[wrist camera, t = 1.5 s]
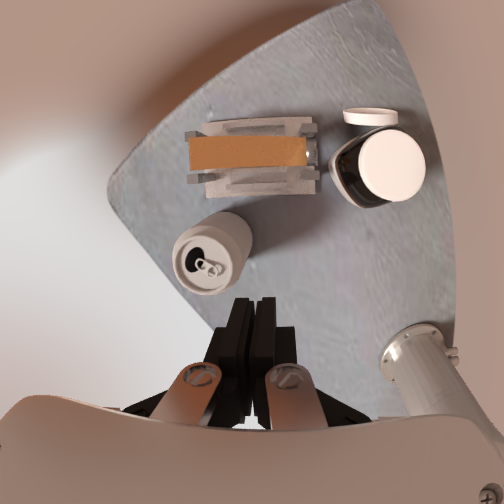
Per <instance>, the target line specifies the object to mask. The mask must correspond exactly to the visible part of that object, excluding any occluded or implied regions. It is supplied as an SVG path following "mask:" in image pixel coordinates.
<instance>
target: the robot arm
mask: <svg viewBox="0 0 504 504" xmlns="http://www.w3.org/2000/svg"><path fill="white" fill-rule="evenodd" d="M457 353H458V349H457V347H453V348H449V349H447V348H446V347H445V345H444V338H443V335H442V333H441V332H440V331H439V329H438V328H436V327H435V326H434V325H431V324H424V323H423V324H416V325H413V326H410V327H408V328H406V329H404V330H403V331H401V332H399V333H398V334H397V335H396V336H395V337H393V338H392V340H391V341H390V342H389V343H388V344H387V346H386V347H385V348H384V350H383V353H382V355H381V358H380V370H381V372H382V375H383V376H384V378H385V379H386V380H388V381H389V382H391V383H396V385H397V387H398V390H399V392H400V394H401V397H402V399H403V402H404V404H405V407H406V409H407V412H408V415H409V416H408V417H378V419H377V420H370V418H369V417H367V416H366V415H365V414H363V413H361V412H359V411H357V410H355V409H353V408H351V407H349V406H347V405H346V404H344V403H342V402H340V401H338V400H336V399H334V398H333V397H331V396H329V395H327V394H325V393H324V392H322V391H320V390H318V389H316V388H315V386H314V383H313V380H312V377H311V375H310V373H309V371H308V370H307V369H306V368H305V367H303V366H301V365H298V364H297V355H296V341H295V328H294V326H293V327H277V326H276V298H275V297H263V298H262V301H257V307H256V313H255V309H254V301H249V298H235V301H234V304H233V307H232V310H231V313H230V317H229V320H228V323H227V326H226V327H217V328H216V329H215V331H214V334H213V336H212V339H211V342H210V344H209V347H208V350H207V352H206V355H205V358H204V361H203V362H198V363H193V364H191V365H188V366H187V367H185V368H184V369H183V370H182V371H181V372H180V373H179V375H178V376H177V378H176V379H175V381H174V382H173V384H172V385H171V387H170V388H169V389H168V390H166V391H164V392H162V393H159V394H157V395H155V396H153V397H150V398H148V399H145V400H143V401H140V402H138V403H136V404H133V405H131V406H129V407H127V408H125V409H124V410H123V411H121V410H120V408H110V407H100V406H96V405H92V404H88V403H85V402H81V401H77V400H74V399H69V398H65V397H60V396H52V395H33V396H28V397H25V398H23V399H22V400H20V401H19V402H18V403H16V404H15V405H14V406H13V407H12V408H11V409H10V410H9V411H8V412H7V413H6V414H5V416H4V417H3V418H2V419H1V420H0V504H504V436H503V435H502V434H501V433H500V432H499V431H498V430H497V428H496V427H495V426H494V425H493V423H492V422H491V421H490V420H489V418H488V417H487V415H486V414H485V412H484V411H483V409H482V408H481V407H480V405H479V403H478V402H477V400H476V399H475V397H474V396H473V394H472V393H471V391H470V390H469V388H468V387H467V385H466V383H465V382H464V380H463V379H462V377H461V376H460V374H459V373H458V371H457V370H456V368H455V367H454V366H457V365H458V364H459V357H458V356H453V357H449V358H448V356H449V355H455V354H457ZM252 400H253V407H254V416H257V417H258V423H259V424H260V425H262V426H263V427H264V428H265V429H266V430H264V429H260V430H259V429H235V428H234V429H233V428H232V427H233V426H235V425H237V424H244V422H245V416H250V415H251V407H252Z"/></svg>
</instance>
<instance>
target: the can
mask: <svg viewBox="0 0 504 504" xmlns="http://www.w3.org/2000/svg"><path fill="white" fill-rule="evenodd" d="M252 242H253V236H252V233H251V229H250V227H249V226H248V224H247V223H246V221H245V220H243V219H242V218H241V217H240V216H238V215H236V214H233V213H230V212H218V213H215V214H212V215H210V216H209V217H207V218H206V219H204V220H202V221H201V222H199V223H198V224H196V225H194V226H193V227H191V228H190V229H188V230H187V231H186V232H184V233H183V234H182V235H181V236H180V237H179V239H178V240H177V242H176V243H175V246H174V250H173V253H172V256H173V269H174V272H175V274H176V277H177V279H178V280H179V281H180V283H181V284H182V285H183V286H184V287H186V288H187V289H188V290H189V291H191V292H194V293H196V294H199V295H215V294H219V293H223V292H225V291H227V290H228V289H230V288H232V286H233V285H234V284H235V283H236V282H237V280H238V279H239V277H240V274H241V272H242V270H243V267H244V265H245V263H246V260H247V258H248V256H249V253H250V250H251V248H252Z"/></svg>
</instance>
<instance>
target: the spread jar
mask: <svg viewBox="0 0 504 504" xmlns="http://www.w3.org/2000/svg"><path fill="white" fill-rule="evenodd" d="M343 114H344V121H345V122H346V123H350V124H356V125H370V126H381V127H378V128H376V129H373V130H371V131H368V132H366V133H364V134H362V135H359V136H357V137H355V138H353V139H351V140H350V141H348V142H347V143H345V144H344V145H343V146H341V147H340V148H339V149H338V150H337V151H335V152H334V153H333V155H332V156H331V157H330V159H329V162H328V168H329V172H330V175H331V177H332V179H333V181H334V183H335V185H336V187H337V188H338V190H339V191H340V192H341V194H342V195H343V196H344V197H345V198H346V199H347V200H348V201H349V202H350V203H352V204H354V205H356V206H358V207H361V208H373V207H378V206H381V205H384V204H387V203H390V202H392V201H403V200H407V199H409V198H411V197H412V196H413V195H415V194H416V193H417V192H418V190H419V189H420V188H421V186H422V184H423V181H424V178H425V171H426V166H425V159H424V155H423V153H422V151H421V149H420V147H419V146H418V144H417V143H416V142H415V141H414V139H413V138H411V137H410V136H409V135H407V134H406V133H405V132H404V131H403V130H402V129H401V128H400V127H398V126H396V125H395V124H397V123H398V113H397V112H396V111H394V110H389V109H381V108H351V109H345V110H343Z"/></svg>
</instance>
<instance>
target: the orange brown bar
mask: <svg viewBox="0 0 504 504" xmlns="http://www.w3.org/2000/svg"><path fill="white" fill-rule="evenodd" d="M188 143H189V162H190V171H194V170H206V169H220V168H237V167H261V166H318V150H317V138H315V137H288V136H208V137H190V138H189V139H188Z"/></svg>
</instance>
